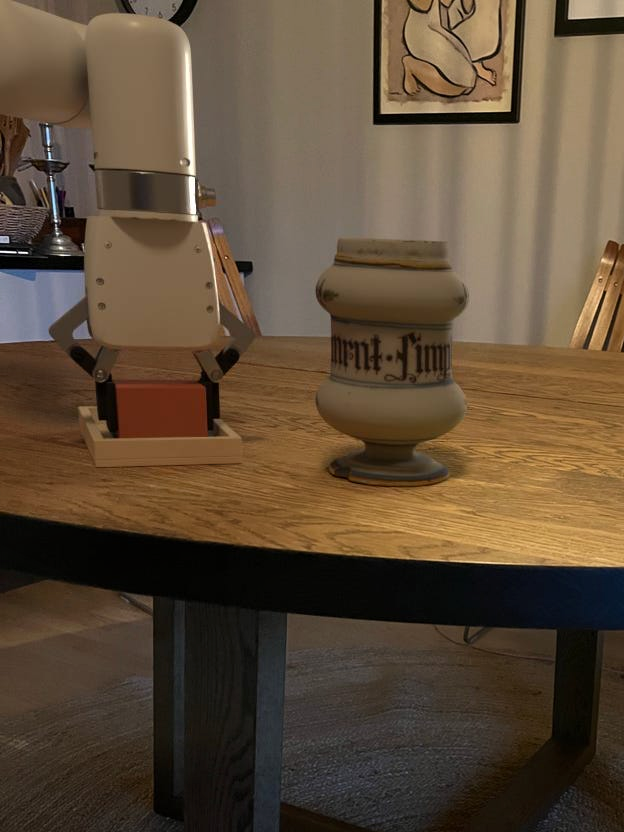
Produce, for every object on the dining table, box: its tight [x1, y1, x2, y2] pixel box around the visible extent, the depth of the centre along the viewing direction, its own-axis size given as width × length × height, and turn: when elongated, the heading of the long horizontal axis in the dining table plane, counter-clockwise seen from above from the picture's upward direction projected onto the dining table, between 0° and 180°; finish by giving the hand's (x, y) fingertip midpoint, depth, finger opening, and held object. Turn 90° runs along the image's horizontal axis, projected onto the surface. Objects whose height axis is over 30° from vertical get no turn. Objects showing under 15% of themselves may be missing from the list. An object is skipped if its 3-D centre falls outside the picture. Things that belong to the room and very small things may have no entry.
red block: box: [113, 379, 208, 438], centre depth 86 cm, size 7×5×4 cm, turn 114°
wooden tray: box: [77, 405, 243, 468], centre depth 89 cm, size 17×11×2 cm
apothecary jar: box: [315, 237, 470, 488], centre depth 81 cm, size 12×12×18 cm
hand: (160, 427), depth 87 cm, fingers closed on red block, 7 cm apart
